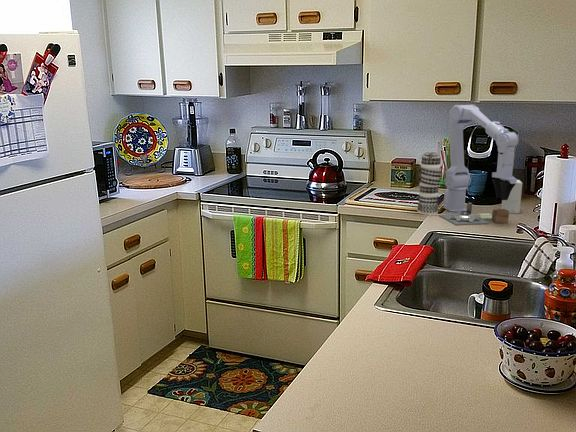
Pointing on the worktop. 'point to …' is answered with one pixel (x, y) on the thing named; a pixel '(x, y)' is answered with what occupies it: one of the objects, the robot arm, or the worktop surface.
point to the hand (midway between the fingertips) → (501, 198)
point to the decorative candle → (429, 183)
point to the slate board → (463, 221)
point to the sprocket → (465, 214)
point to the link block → (500, 216)
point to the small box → (513, 199)
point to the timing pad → (486, 216)
